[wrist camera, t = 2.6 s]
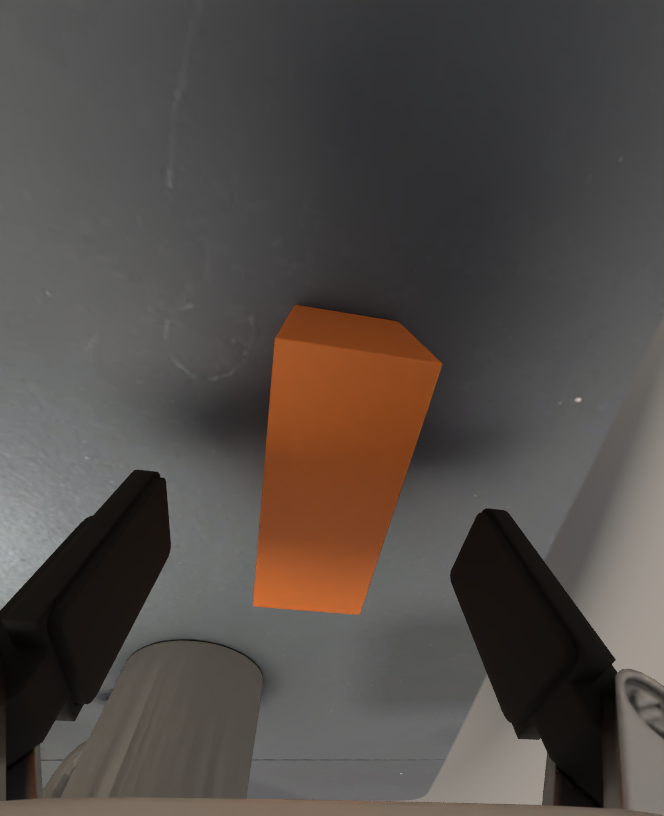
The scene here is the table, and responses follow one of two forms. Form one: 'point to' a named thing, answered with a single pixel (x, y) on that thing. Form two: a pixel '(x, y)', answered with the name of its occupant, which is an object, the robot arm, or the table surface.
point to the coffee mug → (170, 728)
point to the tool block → (336, 454)
